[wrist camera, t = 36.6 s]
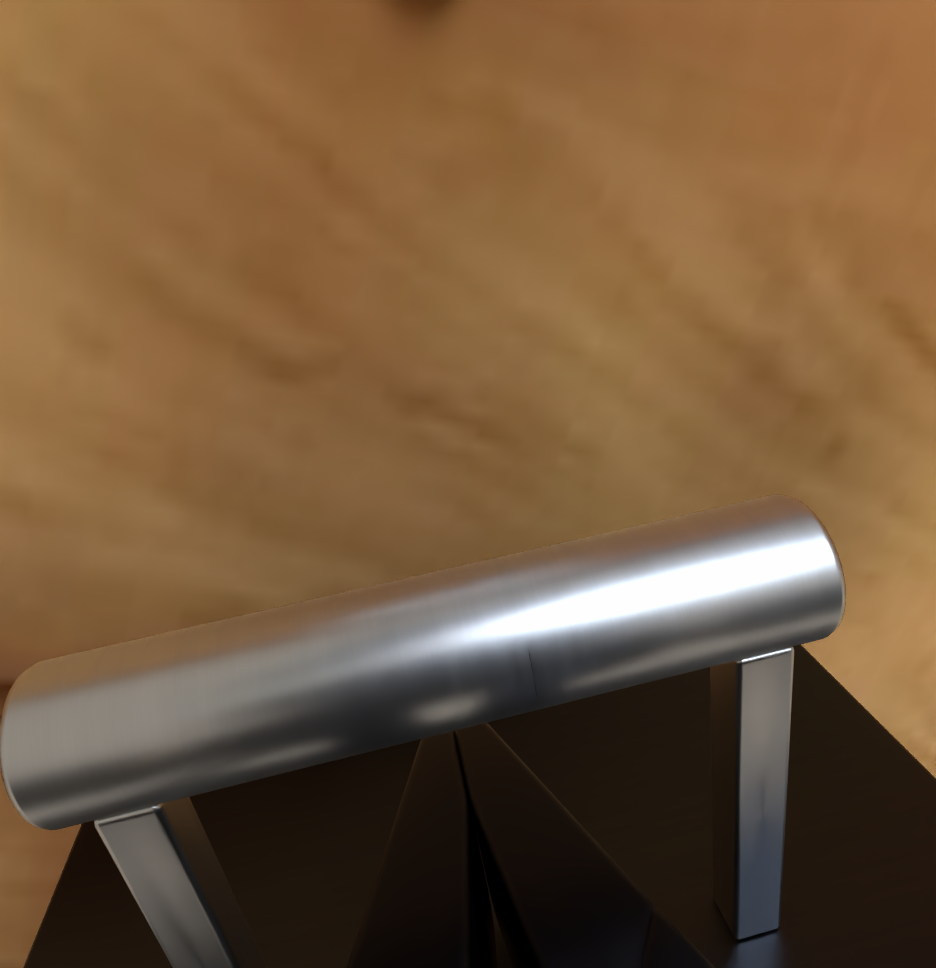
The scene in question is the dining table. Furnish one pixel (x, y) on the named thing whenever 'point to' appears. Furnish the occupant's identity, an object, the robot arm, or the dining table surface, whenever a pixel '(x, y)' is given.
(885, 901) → the drawer
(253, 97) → the dining table surface
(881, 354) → the dining table surface
